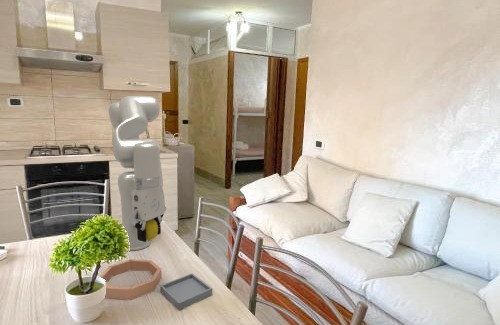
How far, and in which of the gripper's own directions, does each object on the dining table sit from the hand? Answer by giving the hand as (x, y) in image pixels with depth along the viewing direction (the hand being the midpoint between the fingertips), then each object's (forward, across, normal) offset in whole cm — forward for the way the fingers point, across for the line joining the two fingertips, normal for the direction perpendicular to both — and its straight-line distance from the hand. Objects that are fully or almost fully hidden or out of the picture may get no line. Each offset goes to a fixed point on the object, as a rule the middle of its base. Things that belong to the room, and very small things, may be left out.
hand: (149, 236), depth 104 cm
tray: (+18, +3, -12) cm, 22 cm away
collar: (+18, -1, +8) cm, 19 cm away
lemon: (+2, 0, 0) cm, 2 cm away
